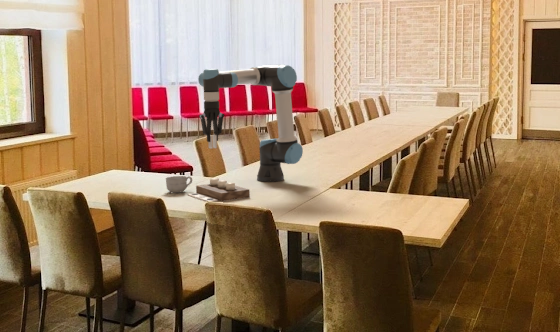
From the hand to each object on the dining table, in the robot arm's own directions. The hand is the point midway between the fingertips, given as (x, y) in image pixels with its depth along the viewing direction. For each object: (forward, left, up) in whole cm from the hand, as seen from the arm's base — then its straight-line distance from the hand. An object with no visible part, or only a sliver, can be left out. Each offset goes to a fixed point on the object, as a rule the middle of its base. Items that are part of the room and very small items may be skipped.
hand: (212, 148), depth 362 cm
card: (+6, 0, -24) cm, 25 cm away
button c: (-5, +8, -20) cm, 22 cm away
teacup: (+8, -22, -25) cm, 34 cm away
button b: (-5, 0, -20) cm, 21 cm away
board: (-5, 0, -24) cm, 25 cm away
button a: (-5, -8, -20) cm, 22 cm away
